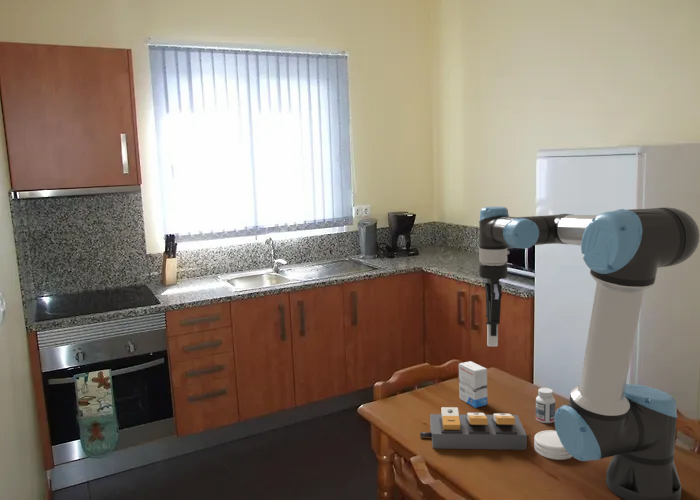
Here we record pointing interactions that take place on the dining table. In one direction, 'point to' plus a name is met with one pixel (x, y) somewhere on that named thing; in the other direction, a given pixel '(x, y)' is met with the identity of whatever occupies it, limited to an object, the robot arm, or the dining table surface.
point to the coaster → (550, 445)
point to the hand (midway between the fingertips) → (492, 345)
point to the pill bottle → (545, 406)
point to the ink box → (473, 384)
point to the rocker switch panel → (477, 434)
